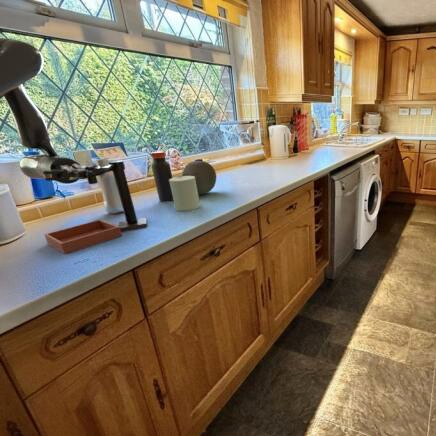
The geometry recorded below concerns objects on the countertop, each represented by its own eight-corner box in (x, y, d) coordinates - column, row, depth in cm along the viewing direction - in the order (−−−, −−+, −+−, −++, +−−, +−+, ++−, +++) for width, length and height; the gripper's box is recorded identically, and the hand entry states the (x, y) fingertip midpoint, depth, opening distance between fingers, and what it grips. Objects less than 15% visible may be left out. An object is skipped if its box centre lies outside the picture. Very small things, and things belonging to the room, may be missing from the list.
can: (196, 202, 124) (190, 173, 120) (203, 207, 117) (198, 176, 113) (172, 207, 118) (165, 177, 114) (178, 212, 112) (172, 180, 108)
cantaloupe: (181, 194, 136) (174, 161, 131) (212, 189, 145) (206, 157, 140) (192, 201, 126) (185, 165, 121) (224, 194, 135) (219, 160, 130)
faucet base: (118, 232, 95) (101, 173, 89) (119, 225, 101) (104, 170, 94) (147, 226, 99) (132, 170, 92) (147, 220, 104) (133, 167, 98)
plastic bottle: (107, 211, 116) (92, 159, 109) (128, 208, 118) (114, 157, 112) (104, 216, 110) (88, 161, 103) (126, 213, 113) (111, 159, 106)
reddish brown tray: (64, 254, 81) (61, 243, 80) (47, 244, 88) (44, 234, 87) (122, 235, 92) (119, 226, 91) (103, 228, 99) (100, 219, 98)
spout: (115, 172, 95) (112, 160, 94) (128, 171, 96) (125, 160, 94) (83, 184, 80) (79, 170, 79) (98, 183, 80) (94, 169, 79)
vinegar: (157, 199, 130) (146, 152, 123) (174, 196, 134) (164, 150, 127) (161, 202, 125) (150, 153, 118) (178, 199, 129) (168, 152, 123)
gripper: (26, 160, 83) (48, 164, 74) (83, 153, 93) (108, 156, 84) (36, 186, 85) (58, 194, 76) (90, 177, 96) (116, 183, 87)
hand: (85, 174), depth 80 cm, fingers closed
